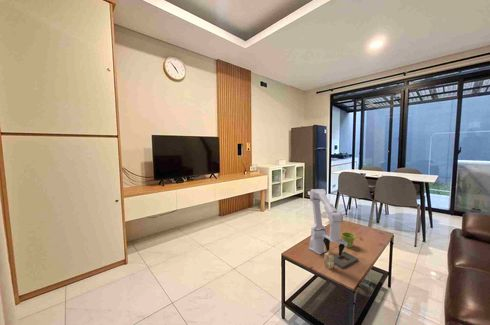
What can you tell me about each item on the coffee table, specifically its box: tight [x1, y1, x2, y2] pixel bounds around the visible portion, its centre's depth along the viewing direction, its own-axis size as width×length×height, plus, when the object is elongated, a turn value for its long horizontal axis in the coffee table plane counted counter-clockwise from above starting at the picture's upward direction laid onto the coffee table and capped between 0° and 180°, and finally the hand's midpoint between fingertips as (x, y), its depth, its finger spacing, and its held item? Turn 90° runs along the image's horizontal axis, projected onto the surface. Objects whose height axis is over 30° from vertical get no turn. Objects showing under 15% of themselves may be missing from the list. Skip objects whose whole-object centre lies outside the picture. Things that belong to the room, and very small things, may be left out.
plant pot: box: [340, 231, 356, 249], centre depth 153 cm, size 9×9×9 cm
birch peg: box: [323, 251, 335, 270], centre depth 128 cm, size 4×4×8 cm
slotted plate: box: [334, 251, 359, 270], centre depth 134 cm, size 10×17×2 cm, turn 121°
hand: (333, 252), depth 127 cm, fingers open, 7 cm apart
